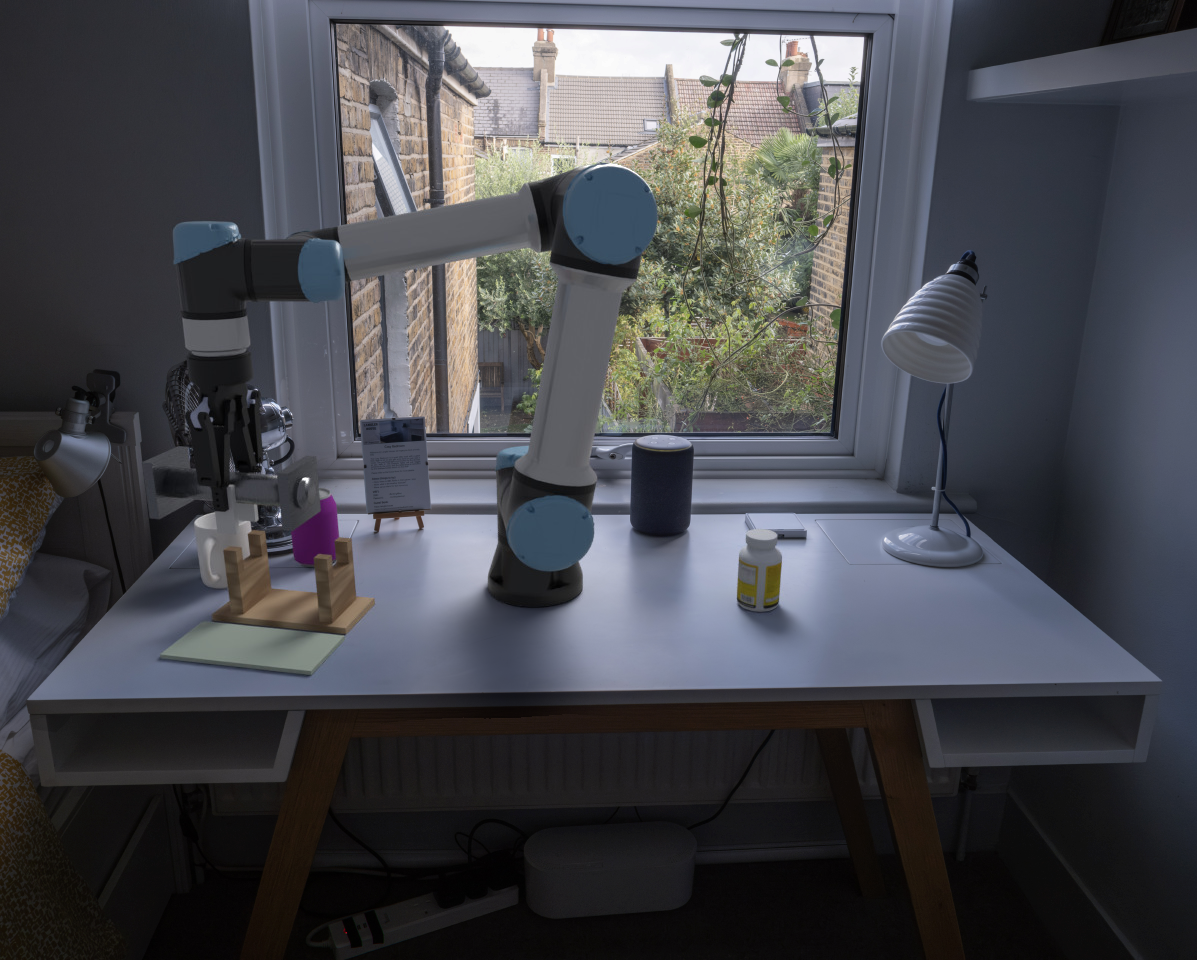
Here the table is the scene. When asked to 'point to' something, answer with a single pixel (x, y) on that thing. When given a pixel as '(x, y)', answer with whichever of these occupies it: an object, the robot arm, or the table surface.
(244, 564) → the cradle
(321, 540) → the beverage can
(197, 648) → the mat
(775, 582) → the pill bottle
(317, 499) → the rod
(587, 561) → the table surface
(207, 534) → the mug
